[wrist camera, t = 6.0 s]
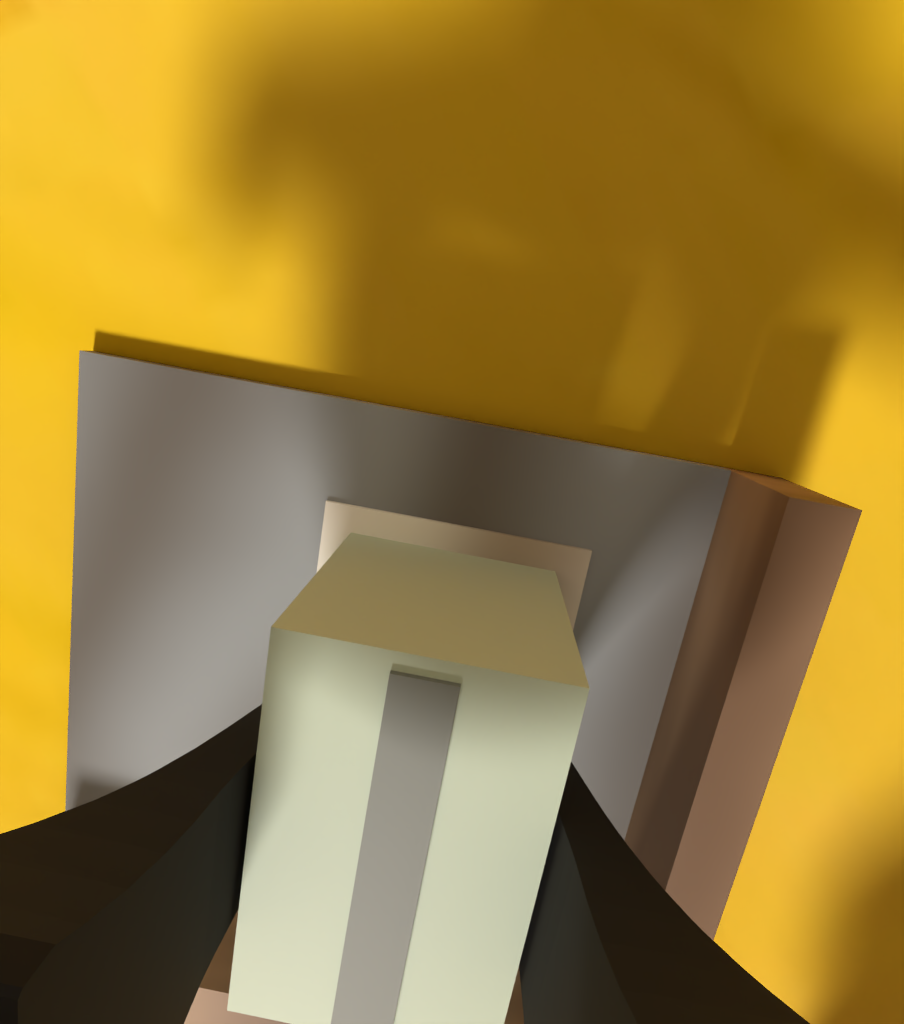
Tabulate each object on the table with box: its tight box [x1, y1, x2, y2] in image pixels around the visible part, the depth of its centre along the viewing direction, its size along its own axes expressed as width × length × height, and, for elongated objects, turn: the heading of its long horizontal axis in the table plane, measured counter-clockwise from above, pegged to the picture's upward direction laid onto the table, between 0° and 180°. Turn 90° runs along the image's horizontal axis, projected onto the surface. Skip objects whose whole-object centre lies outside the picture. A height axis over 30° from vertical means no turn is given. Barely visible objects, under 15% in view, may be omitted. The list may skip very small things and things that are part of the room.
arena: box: [66, 351, 862, 1024], centre depth 14 cm, size 15×14×3 cm
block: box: [227, 533, 590, 1024], centre depth 12 cm, size 7×4×5 cm, turn 170°
